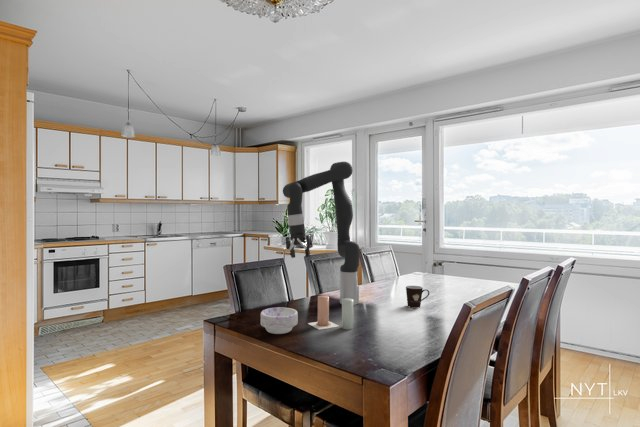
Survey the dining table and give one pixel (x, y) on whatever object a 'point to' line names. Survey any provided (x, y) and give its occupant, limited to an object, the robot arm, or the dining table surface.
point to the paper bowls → (279, 319)
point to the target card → (331, 325)
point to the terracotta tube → (323, 310)
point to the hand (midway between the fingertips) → (300, 257)
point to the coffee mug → (415, 295)
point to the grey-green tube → (347, 313)
